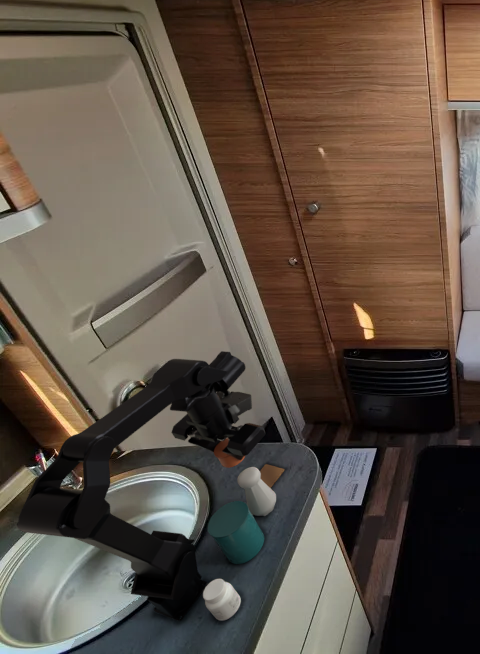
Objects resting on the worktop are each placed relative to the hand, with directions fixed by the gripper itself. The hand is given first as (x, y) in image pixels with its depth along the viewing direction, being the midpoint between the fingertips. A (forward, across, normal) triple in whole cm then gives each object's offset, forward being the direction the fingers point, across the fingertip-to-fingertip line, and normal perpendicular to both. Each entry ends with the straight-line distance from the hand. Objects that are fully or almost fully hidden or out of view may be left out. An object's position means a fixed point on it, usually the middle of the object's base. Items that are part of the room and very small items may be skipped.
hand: (232, 455), depth 93 cm
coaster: (+13, -2, -4) cm, 14 cm away
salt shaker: (+13, -6, +3) cm, 15 cm away
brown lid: (+1, 0, 0) cm, 1 cm away
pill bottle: (+13, -13, +21) cm, 28 cm away
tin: (+13, -8, +11) cm, 19 cm away
